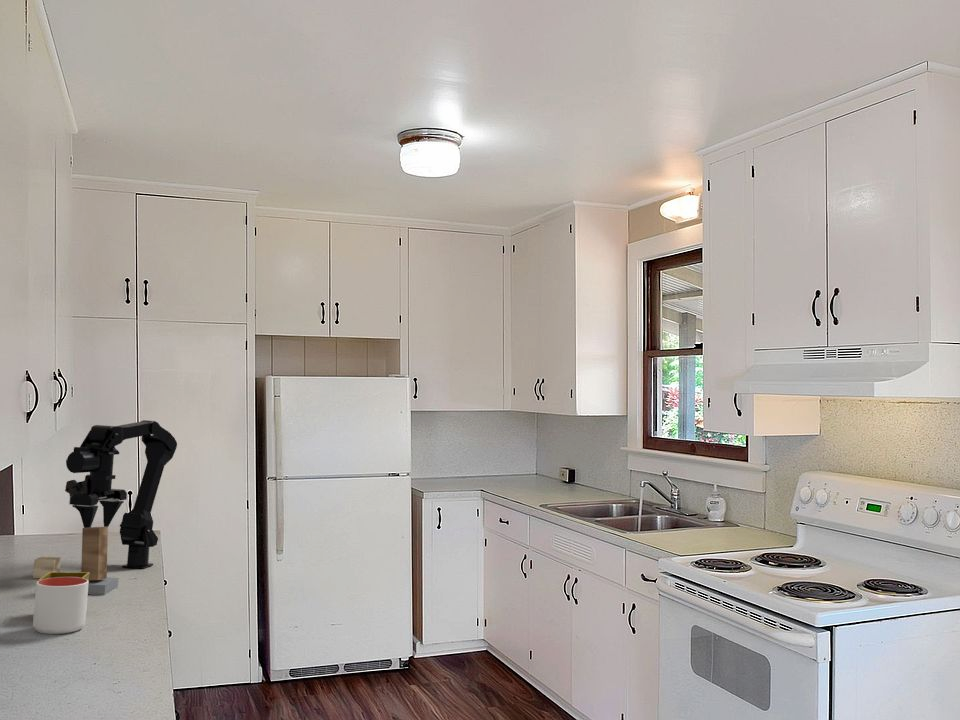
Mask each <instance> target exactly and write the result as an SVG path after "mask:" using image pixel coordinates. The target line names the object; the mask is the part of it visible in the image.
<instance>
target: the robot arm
mask: <svg viewBox="0 0 960 720" xmlns="http://www.w3.org/2000/svg"><path fill="white" fill-rule="evenodd" d="M139 437H141V442H142V444H143V445H144V446H145V449H144V453H145V458H146V461H147V463H146V465H145V468H144V472H143V475H142V479H141V483H140V484H139V489H138V492H137V495H136V498H135V501H134V506H133V508H132V509H131V510H130V512H124V513H123V516H122V519H121V522H120V524H119V534H120V541H121V545H123V546H128V547H127V548H128V549H127V560H126V562H127V563H125V564H122V566H121V567H122V568H129V569H139V568H143V569H145V567H146V568H149V567H152V566H154V563H151V562H149V560H150V548H153V547H155V546H157V545H158V541H159V537H158V536H157V534H156V533H155V531H154V529H153V525H154V520H153V516H152V509H153V506H154V502H155V499H156V496H157V492H158V489H159V486H160V482H161V479H162V475H163V472H164V468H165V466H166V465H167V464H168V463H169V462H170V461H171V460H172V459H173V457H174V455H175V452H176V450H177V448H178V443H177V439H176V438H175V437H174V436H173V434H172V433H171V432H170V431H168V430H167V429H165V428H163V427H162V426H161V425H160V424H159V422H157V421H156V420H145V419H143V420H141V421H138V422H131V423H127V424H126V423H125V424H120V425H101V424H95V425H92V426H91V428H90V430H89V431H88V433H87V434H86V436H85V438H84V439H83V440H82V442H81V444H80V446H74V447H73V451H72V452H70V454H68V456H67V458H66V461H65V465H66V468H67V470H68V471H69V472H70V473H73V474H81V473H82V474H83V473H89V474H86V475H85V476H84V480H82V481H77V480H76V479H70V480H68V481H66V485H65V489H64V491H65V492H66V493H68V494H69V502H68V504H69V505H72V506H71V507H72V508H75V509H76V510H77V511H78V512H79V515H80V518H81V521H82V525H83V528H89V527H92V526H93V522H94V520H95V517H96V514H97V511H98V508H99V505H98V503H99V504H100V505H101V506H102V512H103V513H102V514H103V517H102V519H103V520H102V522H103V527H108V528H109V526H110V524H111V523H112V522H113V519H114V517H116V514H117V512H118V510H119V509H120V507H122V504H124V503H125V502H124V501H125V500H127V497H128V496H127V495H128V492H127V491H126V490H125V489H121V488H119V489H118V488H112V484H113V483H112V482H113V480H115V479H116V477H117V476H116V474H113V470H114V457H115V455H120V451H119V450H118V449H117V448H116V447H117V446H119V445H121V444H122V443H123V441H125V440H129V439H134V438H139ZM151 565H152V566H151ZM148 566H149V567H148Z"/></svg>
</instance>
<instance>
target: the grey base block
mask: <svg viewBox="0 0 960 720" xmlns="http://www.w3.org/2000/svg"><path fill="white" fill-rule="evenodd" d="M88 581H89V583H88V594H92V596H93V595H94V596H105V594H106V595H107V593H108V594H109V593H111V592H112V590H113V591H115V590H116V589H118V587H119V577H107V578H106V579H101V580H88ZM114 589H115V590H114ZM110 591H111V592H110Z"/></svg>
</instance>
